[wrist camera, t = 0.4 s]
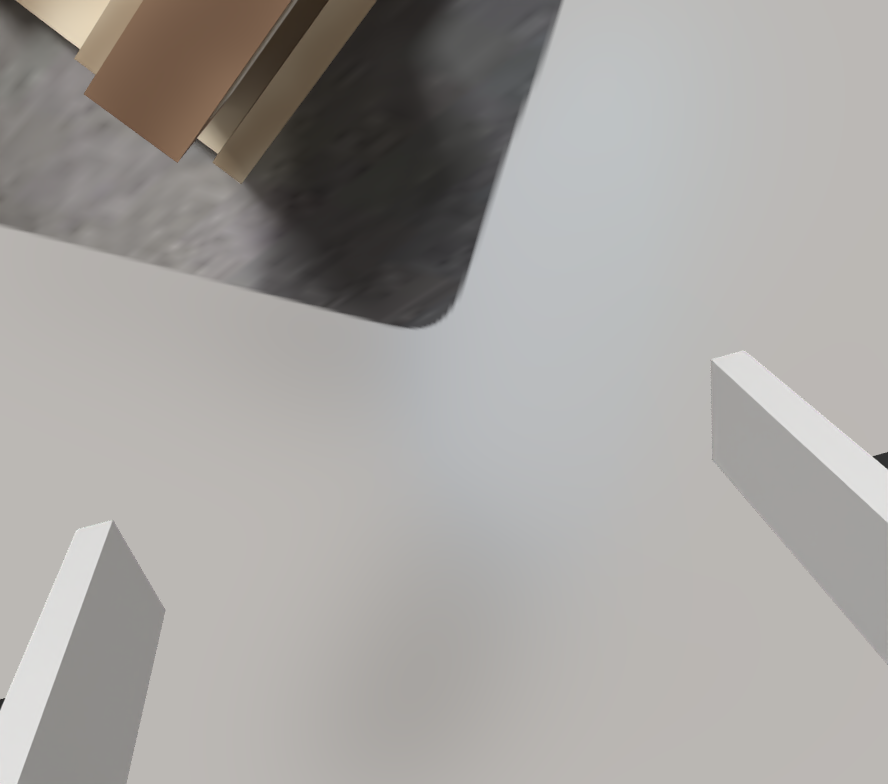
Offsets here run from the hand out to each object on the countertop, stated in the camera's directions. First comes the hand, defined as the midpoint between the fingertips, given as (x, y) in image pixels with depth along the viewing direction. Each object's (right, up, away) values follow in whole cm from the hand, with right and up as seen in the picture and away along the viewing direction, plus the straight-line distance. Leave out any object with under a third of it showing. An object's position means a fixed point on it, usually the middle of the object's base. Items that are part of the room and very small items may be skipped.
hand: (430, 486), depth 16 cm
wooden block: (-8, +20, +15) cm, 26 cm away
